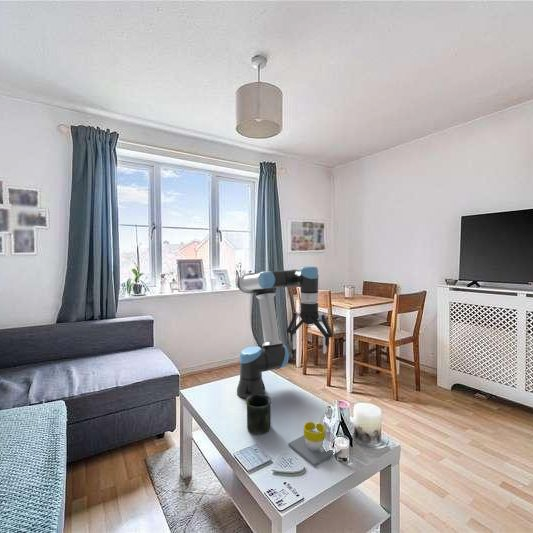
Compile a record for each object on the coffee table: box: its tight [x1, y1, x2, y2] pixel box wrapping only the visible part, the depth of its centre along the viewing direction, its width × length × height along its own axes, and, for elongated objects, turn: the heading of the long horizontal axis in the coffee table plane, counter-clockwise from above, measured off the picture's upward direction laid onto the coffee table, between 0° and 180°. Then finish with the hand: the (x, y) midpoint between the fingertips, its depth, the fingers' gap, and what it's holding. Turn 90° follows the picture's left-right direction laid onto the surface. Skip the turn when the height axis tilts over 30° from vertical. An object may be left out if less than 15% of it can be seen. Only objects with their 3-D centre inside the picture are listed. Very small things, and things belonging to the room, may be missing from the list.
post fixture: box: [287, 429, 334, 468], centre depth 113 cm, size 14×14×5 cm
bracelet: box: [303, 421, 326, 442], centre depth 112 cm, size 7×8×3 cm
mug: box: [245, 394, 272, 435], centre depth 128 cm, size 11×15×12 cm
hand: (309, 350), depth 129 cm, fingers open, 13 cm apart
